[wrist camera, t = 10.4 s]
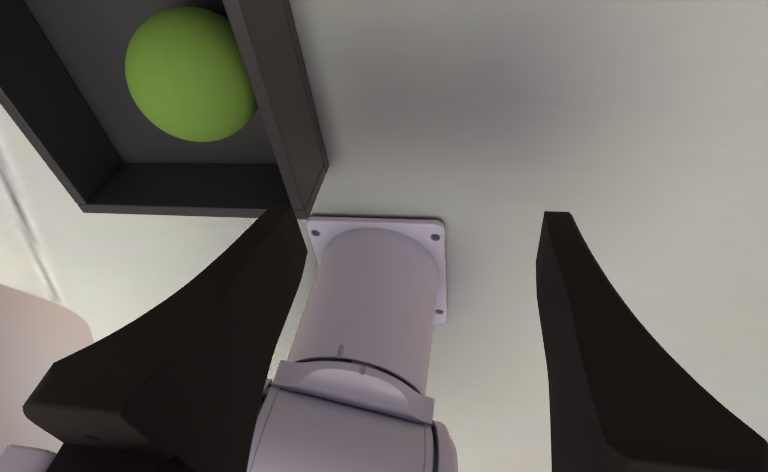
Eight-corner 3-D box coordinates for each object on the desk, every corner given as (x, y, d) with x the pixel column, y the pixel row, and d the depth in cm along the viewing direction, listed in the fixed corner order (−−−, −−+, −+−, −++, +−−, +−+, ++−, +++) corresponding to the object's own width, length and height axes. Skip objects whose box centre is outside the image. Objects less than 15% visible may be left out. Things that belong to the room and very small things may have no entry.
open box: (329, 166, 25) (308, 220, 22) (126, 164, 27) (83, 213, 24) (228, -248, 14) (160, -248, 11) (-93, -190, 16) (-215, -177, 14)
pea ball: (208, 59, 22) (295, 105, 21) (131, 131, 20) (223, 186, 19) (169, -43, 18) (277, 10, 17) (65, 38, 16) (180, 103, 15)
